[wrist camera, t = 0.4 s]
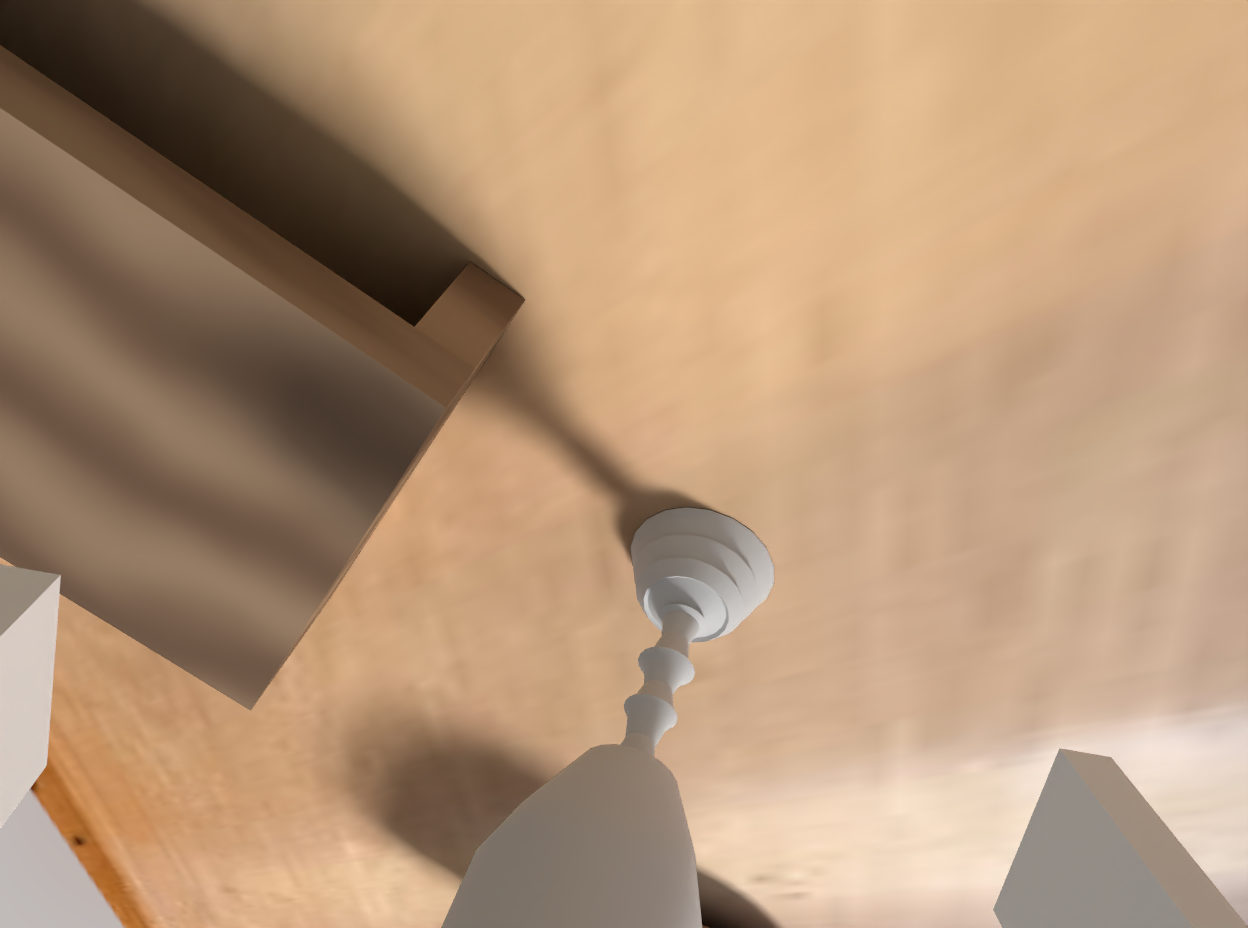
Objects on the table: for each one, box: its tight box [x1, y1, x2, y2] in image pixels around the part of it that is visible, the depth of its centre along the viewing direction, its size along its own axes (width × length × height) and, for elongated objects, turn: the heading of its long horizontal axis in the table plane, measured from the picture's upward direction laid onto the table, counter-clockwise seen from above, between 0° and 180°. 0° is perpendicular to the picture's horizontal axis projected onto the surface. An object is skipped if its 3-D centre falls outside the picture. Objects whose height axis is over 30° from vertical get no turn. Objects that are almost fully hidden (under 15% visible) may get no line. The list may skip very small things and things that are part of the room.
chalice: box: [441, 507, 774, 928], centre depth 32 cm, size 7×7×18 cm
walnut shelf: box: [0, 45, 525, 710], centre depth 36 cm, size 18×22×6 cm
